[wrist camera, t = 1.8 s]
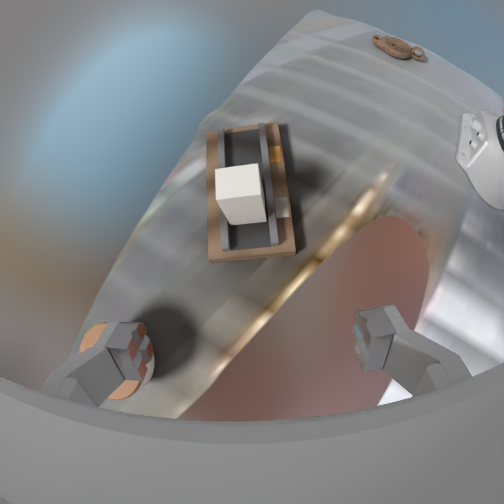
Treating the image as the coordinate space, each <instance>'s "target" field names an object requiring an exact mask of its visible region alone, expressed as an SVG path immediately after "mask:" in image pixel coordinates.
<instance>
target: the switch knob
mask: <svg viewBox="0 0 504 504" xmlns="http://www.w3.org/2000/svg"><path fill="white" fill-rule="evenodd" d="M215 187H216V201H217V203H218V204H219V206H220V208H221V210H222V211H223V213H224V215H225V216H226V218H227V220H228V221H229V223H230V225H231V226H232V225H240V224H249V223H258V222H267V219H266V208H265V198H264V192H263V187H262V182H261V177H260V172H259V167H258V163H257V164H249V165H241V166H234V167H227V168H220V169H215Z"/></svg>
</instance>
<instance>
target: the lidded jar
mask: <svg viewBox="0 0 504 504" xmlns="http://www.w3.org/2000/svg"><path fill="white" fill-rule="evenodd" d="M107 324H108V323H106V322H104V323H99V324H96V325H94V326H93V327H91V328H90V329H89V330H88V331H87V332H86V334H85V336H84V337H83V340H82V343H81V347H80V353H81V352H83V351H85V350H86V349H88V348H89V347H94V345H95V343H96V342H97V340H98V338H99V337H100V335H101V333H102V332H103V330H104V329H105V327H106V325H107ZM146 366H147V369H148V370H147V373H146V375H145V378H144V381H132V380H125V382H124V383H123V384H121V385H120V386H119V387H118V388H117V389H116V390H115V391H114V392H113V393H112V394H111V395H110V396H109V397H108V398H109V399H113V400H120V399H125V398H127V397H129V396H131V395H133V394H134V393H136V392H138V391H139V390H141V389H142V388H144V386H145V385H146V384H147V383H148V382H149V381H150V379H151V377H152V375H153V371H154V366H155V359H154V353H153V356H152V359H151V361H150V362H149V363H148V364H146Z"/></svg>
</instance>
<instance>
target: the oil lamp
mask: <svg viewBox="0 0 504 504" xmlns="http://www.w3.org/2000/svg"><path fill="white" fill-rule="evenodd" d="M372 42H373V44H374V45H375V46H377V47H378V48H380V49H381V50H383V51H384V52H386V53H387V54H389V55H390V56H392V57H394V58H398V59H406V58H409V57H410V56H412V57H414V58H415V59H422V58H423V57H424V51H423V49H422V48H420V47H417V46H416V47H413V48H411V46H410V45H409V44H407V43H406V42H404V41H402V40H400V39H397V38H393V37H388V36H386V37H380V36H378V35H374V36H372ZM415 50H419V51H420V52H421V53H422V55H421V56H417V55H415V54H414V51H415Z"/></svg>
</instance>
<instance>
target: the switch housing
mask: <svg viewBox="0 0 504 504" xmlns="http://www.w3.org/2000/svg"><path fill="white" fill-rule="evenodd" d="M257 163H258V167H259V172H260V177H261V182H262V187H263V192H264V198H265V208H266V219H267V222H258V223H249V224H240V225H232V226H231V225H230V223H229V221H228V220H227V218H226V216H225V215H224V213H223V211H222V210H221V208H220V206H219V204H218V203H217V201H216V187H215V169H220V168H227V167H234V166H241V165H249V164H257ZM207 228H208V258H209V261H210V262H212V263H217V262H227V261H237V260H248V259H258V258H268V257H278V256H288V255H295V254H296V248H295V240H294V232H293V223H292V216H291V208H290V200H289V193H288V186H287V179H286V172H285V165H284V158H283V152H282V146H281V139H280V133H279V127H278V123H268V124H264V123H259V124H258V125H251V126H244V127H237V128H230V129H224V128H223V129H218V131H212V132H207Z"/></svg>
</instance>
